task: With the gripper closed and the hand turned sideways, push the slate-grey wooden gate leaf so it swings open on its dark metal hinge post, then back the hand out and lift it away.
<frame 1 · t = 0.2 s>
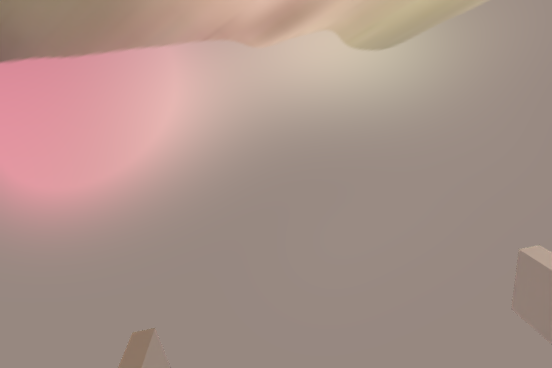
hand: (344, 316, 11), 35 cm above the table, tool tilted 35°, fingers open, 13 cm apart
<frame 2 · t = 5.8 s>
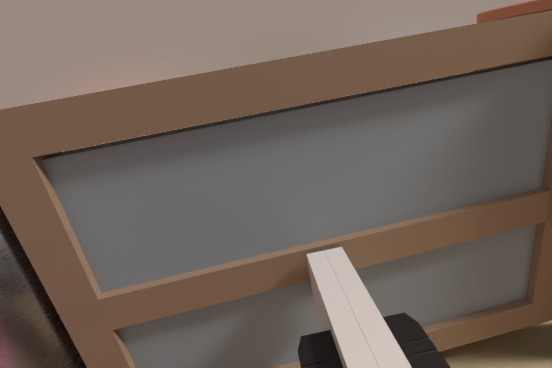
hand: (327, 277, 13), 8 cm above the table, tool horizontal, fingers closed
gate leaf: (333, 237, 14), point 9 cm above the table, hinge at 3.7°, touching gripper
coffee jar: (524, 185, 34), on the table
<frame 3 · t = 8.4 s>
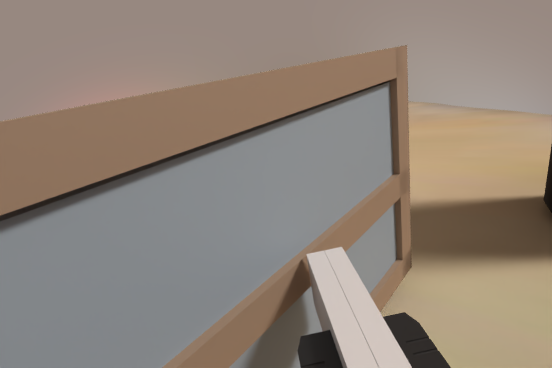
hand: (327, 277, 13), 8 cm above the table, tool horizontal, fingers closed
gate leaf: (290, 255, 14), point 9 cm above the table, hinge at 42.5°, touching gripper
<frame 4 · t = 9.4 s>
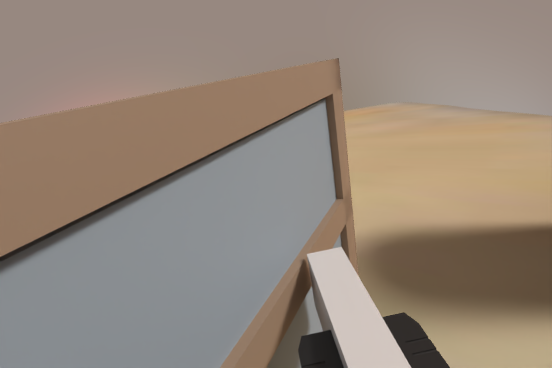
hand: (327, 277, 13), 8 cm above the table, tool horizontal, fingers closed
gate leaf: (234, 333, 10), point 9 cm above the table, hinge at 57.3°, touching gripper
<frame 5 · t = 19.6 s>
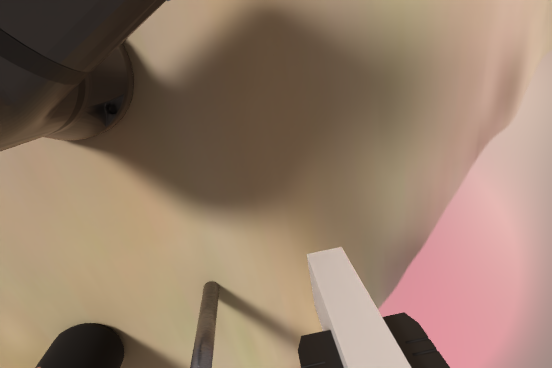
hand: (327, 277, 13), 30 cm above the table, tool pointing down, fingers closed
coffee jar: (92, 344, 50), on the table
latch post: (211, 287, 49), on the table
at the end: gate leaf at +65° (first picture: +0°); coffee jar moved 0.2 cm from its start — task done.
